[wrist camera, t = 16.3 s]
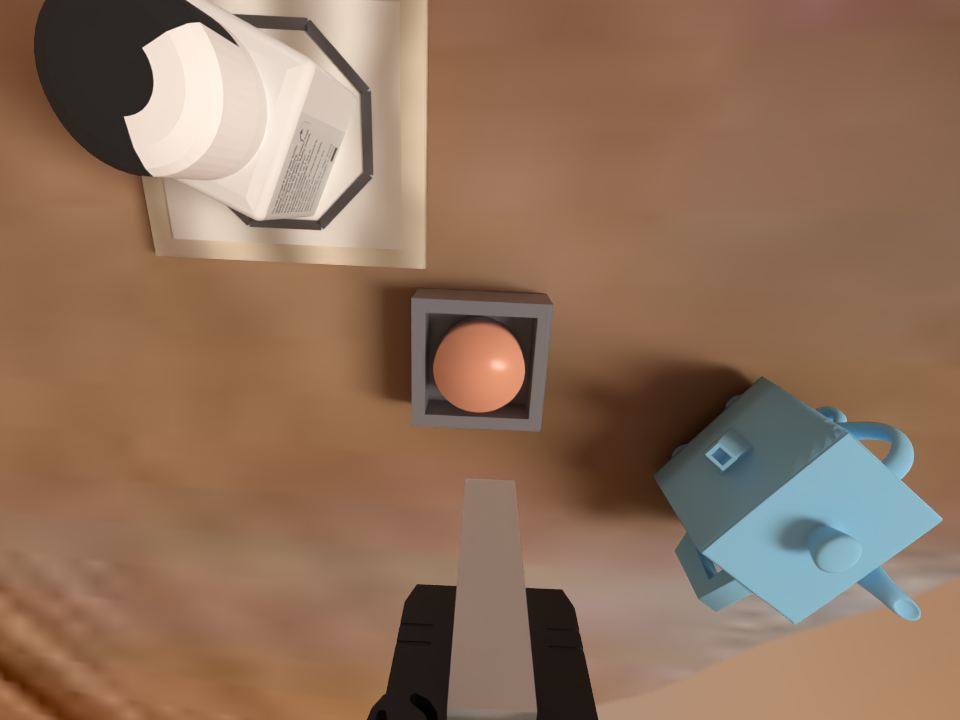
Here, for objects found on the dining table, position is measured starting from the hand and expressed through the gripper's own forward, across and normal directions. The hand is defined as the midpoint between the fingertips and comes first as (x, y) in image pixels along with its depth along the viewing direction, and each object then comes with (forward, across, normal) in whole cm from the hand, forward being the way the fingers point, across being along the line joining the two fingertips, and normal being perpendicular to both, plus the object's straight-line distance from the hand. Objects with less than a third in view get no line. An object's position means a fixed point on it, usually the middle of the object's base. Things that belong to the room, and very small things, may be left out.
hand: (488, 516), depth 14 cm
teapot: (+21, +20, -10) cm, 30 cm away
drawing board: (+20, -14, +13) cm, 27 cm away
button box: (+20, 0, -1) cm, 20 cm away
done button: (+19, 0, -1) cm, 19 cm away
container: (+19, -13, +13) cm, 27 cm away
